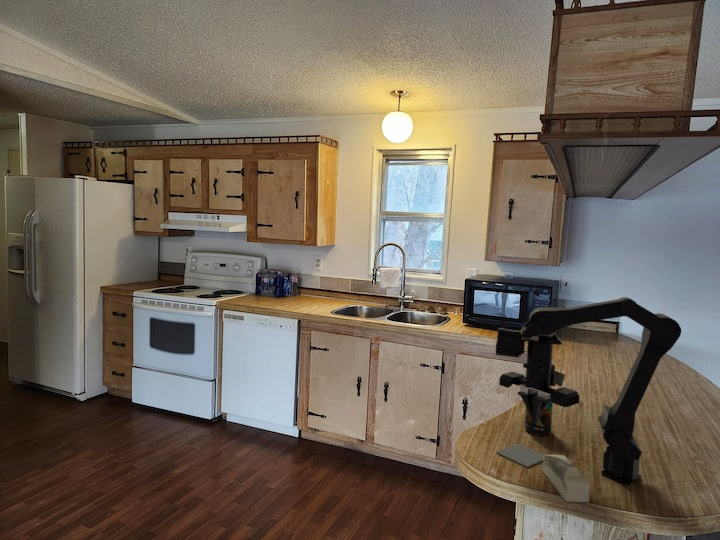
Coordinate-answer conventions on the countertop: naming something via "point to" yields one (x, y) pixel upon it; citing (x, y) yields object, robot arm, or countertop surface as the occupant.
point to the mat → (522, 455)
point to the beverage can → (540, 421)
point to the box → (566, 478)
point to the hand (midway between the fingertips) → (535, 422)
